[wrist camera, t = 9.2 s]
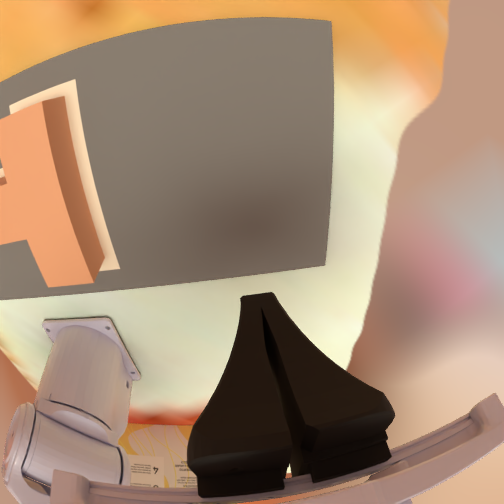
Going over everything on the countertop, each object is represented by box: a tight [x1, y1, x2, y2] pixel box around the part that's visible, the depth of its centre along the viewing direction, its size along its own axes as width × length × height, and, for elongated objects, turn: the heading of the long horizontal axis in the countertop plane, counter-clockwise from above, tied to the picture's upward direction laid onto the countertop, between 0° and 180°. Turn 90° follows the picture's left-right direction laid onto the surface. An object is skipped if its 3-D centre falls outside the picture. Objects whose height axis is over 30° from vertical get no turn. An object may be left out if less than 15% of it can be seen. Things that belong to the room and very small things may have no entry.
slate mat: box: [0, 17, 334, 300], centre depth 17 cm, size 18×31×1 cm, turn 93°
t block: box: [0, 96, 105, 288], centre depth 15 cm, size 12×12×3 cm
